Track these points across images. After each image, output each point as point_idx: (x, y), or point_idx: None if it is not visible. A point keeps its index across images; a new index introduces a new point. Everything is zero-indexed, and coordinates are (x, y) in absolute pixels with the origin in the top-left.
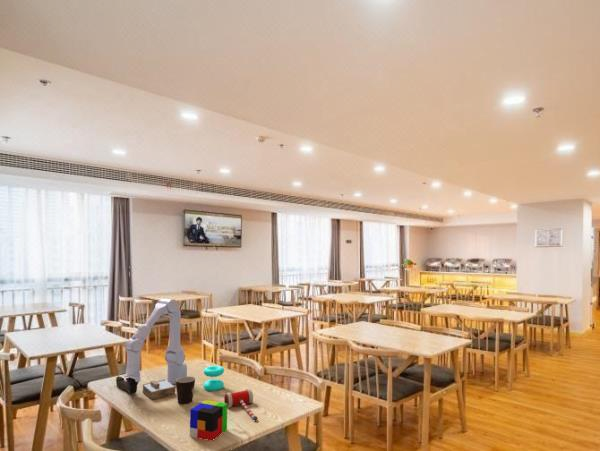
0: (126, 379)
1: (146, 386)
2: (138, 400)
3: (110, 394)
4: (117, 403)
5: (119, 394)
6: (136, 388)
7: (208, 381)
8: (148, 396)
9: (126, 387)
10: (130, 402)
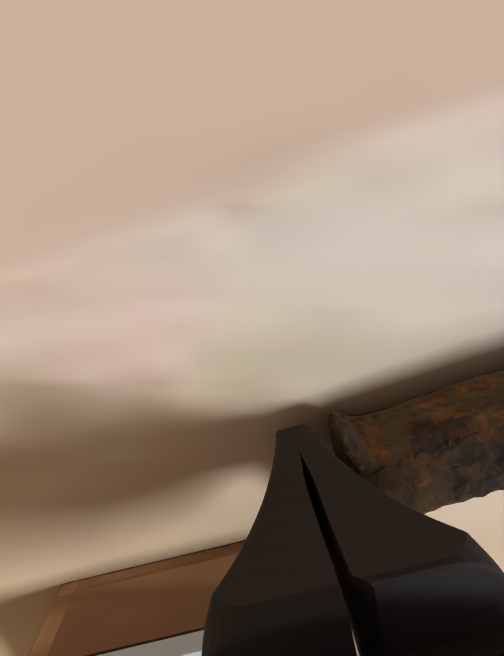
0: (391, 582)
1: None
2: (100, 479)
3: (479, 188)
4: (78, 261)
5: (408, 301)
6: None
7: None
8: (158, 568)
9: (459, 411)
10: (63, 405)
